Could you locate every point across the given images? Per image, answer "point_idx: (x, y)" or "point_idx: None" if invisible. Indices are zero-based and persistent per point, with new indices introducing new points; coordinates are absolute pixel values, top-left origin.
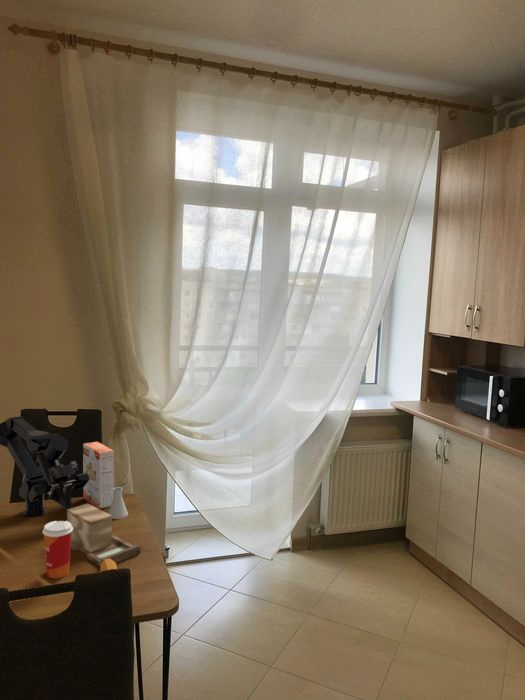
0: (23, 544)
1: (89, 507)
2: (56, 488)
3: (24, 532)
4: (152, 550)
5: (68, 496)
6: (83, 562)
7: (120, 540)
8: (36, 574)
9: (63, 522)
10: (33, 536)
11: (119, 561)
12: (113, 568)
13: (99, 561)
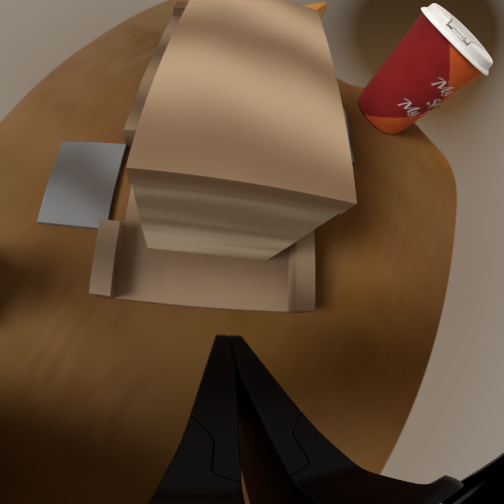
0: (388, 362)
1: (190, 92)
2: (452, 492)
3: None
4: (130, 24)
5: (224, 438)
6: None
7: (161, 57)
8: (413, 158)
9: (453, 22)
10: (335, 410)
11: None
12: (304, 5)
13: None
